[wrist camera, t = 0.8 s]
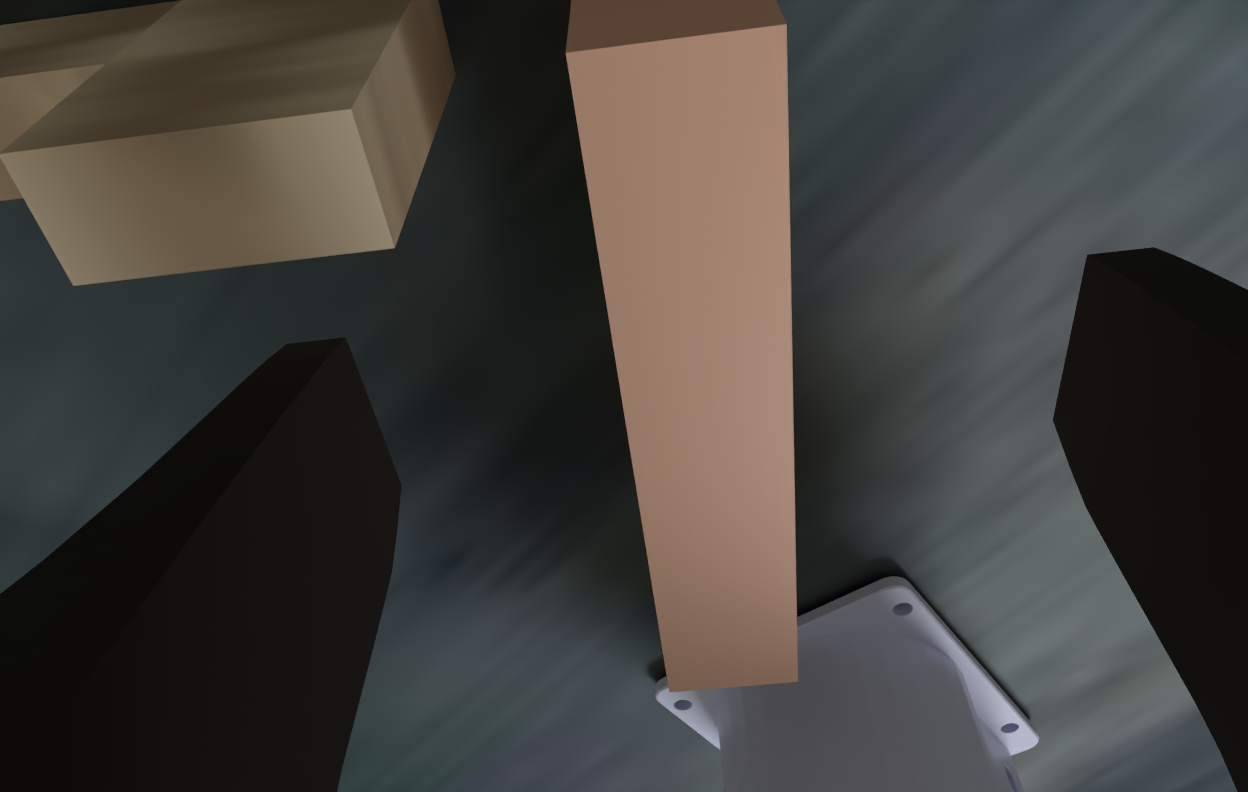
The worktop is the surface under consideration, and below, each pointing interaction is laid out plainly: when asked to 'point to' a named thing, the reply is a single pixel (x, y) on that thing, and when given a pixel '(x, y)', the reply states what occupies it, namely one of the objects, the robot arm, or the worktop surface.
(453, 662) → the worktop surface
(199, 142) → the tan notched block
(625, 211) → the tan flat notched board
